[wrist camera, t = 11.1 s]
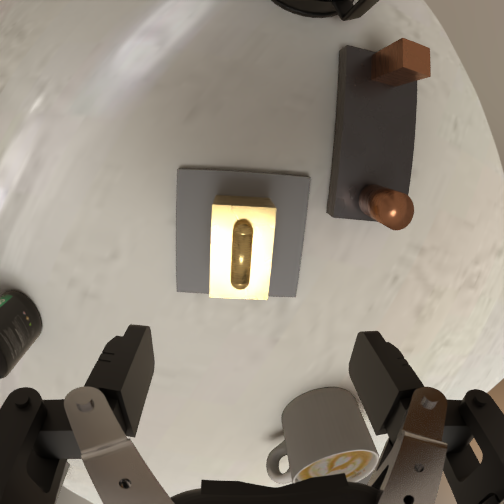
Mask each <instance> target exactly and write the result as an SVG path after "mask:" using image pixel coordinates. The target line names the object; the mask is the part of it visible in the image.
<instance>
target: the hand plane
mask: <svg viewBox="0 0 504 504" xmlns="http://www.w3.org/2000/svg"><path fill="white" fill-rule="evenodd" d="M427 77H431V76H430V48H428V47H425V46H423V45H420V44H418V43H415V42H413V41H410V40H407V39H404V38H401V39H399V40H398V41H396V42H394V43H392V44H391V45H389V46H387V47H385V48H384V49H382V50H380V51H378V52H377V53H376V52H372V51H368V50H365V49H361V48H357V47H353V46H349V45H346V46H345V47H344V48H343V49H342V50H340V51H339V74H338V94H337V110H336V123H335V136H334V147H333V158H332V168H331V178H330V187H329V195H328V204H327V212H326V213H328V214H329V215H331V216H332V217H334V218H345V219H356V220H366V221H376V222H380V223H382V224H383V225H385V226H387V227H388V228H390V229H392V230H401V229H403V228H405V227H406V226H407V225H408V224H409V223H410V222H411V220H412V218H413V214H414V205H413V202H412V200H411V198H410V197H409V196H408V193H409V185H410V178H411V170H412V161H413V151H414V139H415V125H416V106H417V80H420V79H424V78H427Z"/></svg>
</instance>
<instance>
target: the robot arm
mask: <svg viewBox="0 0 504 504" xmlns="http://www.w3.org/2000/svg"><path fill="white" fill-rule="evenodd" d="M153 373H154V353H153V345H152V337H151V330H150V327H149V326H142V325H132V324H130V325H129V326H128V328H127V330H126V332H125V334H124V336H123V337H122V336H116V337H114V338H113V339H112V340H110V341H109V342H108V343H107V344H106V346H105V348H104V350H103V351H102V354H101V355H100V357H99V359H98V361H97V363H96V364H95V366H94V368H93V370H92V372H91V374H90V376H89V378H88V380H87V381H86V383H85V385H84V387H79V388H76V389H74V390H72V391H71V392H69V393H68V394H67V396H66V397H65V399H62V400H42V398H41V396H40V394H39V393H38V392H37V391H36V390H34V389H32V388H28V387H24V388H19V389H16V390H14V391H13V392H11V393H10V394H9V396H8V397H7V399H6V400H5V402H4V404H3V405H2V407H1V409H0V504H55V500H56V496H57V493H58V489H59V485H60V482H61V479H62V475H63V472H64V468H65V465H66V462H67V459H82V460H83V463H84V465H85V467H86V469H87V472H88V474H89V476H90V478H91V480H92V482H93V484H94V486H95V488H96V490H97V492H98V494H99V496H100V498H101V500H102V502H103V504H434V503H435V499H436V496H437V492H438V488H439V484H440V480H441V476H442V472H443V471H444V474H445V476H446V478H447V480H448V483H449V485H450V487H451V490H452V492H453V494H454V497H455V499H456V502H457V504H504V414H503V413H502V411H501V410H500V409H499V407H498V406H497V404H496V403H495V402H494V400H493V399H492V398H491V396H490V395H489V394H487V393H486V392H484V391H482V390H477V389H474V390H470V391H468V392H467V393H466V395H465V397H464V398H463V400H447V399H446V397H445V396H444V395H443V393H441V392H440V391H439V390H437V389H435V388H431V387H424V385H423V384H422V382H421V381H420V379H419V378H418V376H417V375H416V373H415V372H414V371H413V369H412V368H411V366H410V365H409V363H408V362H407V361H406V359H404V356H403V355H402V353H401V352H400V351H399V349H398V348H396V347H395V346H394V345H392V344H391V343H389V342H386V341H385V340H384V338H383V337H382V335H381V334H380V333H379V332H378V331H365V332H359V333H358V335H357V338H356V342H355V345H354V349H353V352H352V355H351V359H350V362H349V374H350V378H351V380H352V382H353V384H354V386H355V389H356V391H357V393H358V395H359V397H360V400H361V402H362V404H363V406H364V409H365V411H366V413H367V415H368V418H369V420H370V422H371V425H372V427H373V429H374V432H375V434H376V435H381V434H386V433H387V434H388V436H389V438H388V440H387V442H386V444H385V446H384V449H383V451H382V454H381V456H380V458H379V461H378V463H377V465H376V468H375V470H374V472H373V474H372V477H371V479H370V480H369V482H368V484H367V485H365V484H361V483H357V482H349V481H347V479H346V475H345V473H341V474H334V475H327V476H319V477H312V478H309V479H306V480H302V481H299V482H296V483H293V484H289V485H286V486H283V487H278V488H273V487H266V486H261V485H255V484H250V483H245V482H240V481H214V480H202V482H201V488H200V489H193V490H189V491H185V492H183V493H180V494H177V495H175V496H173V497H171V498H170V497H169V496H168V494H167V493H166V492H165V490H164V489H163V488H162V486H161V485H160V483H159V482H158V481H157V479H156V478H155V476H154V475H153V473H152V472H151V470H150V469H149V467H148V466H147V464H146V463H145V461H144V460H143V458H142V457H141V455H140V454H139V452H138V450H137V449H136V447H135V446H134V444H133V443H132V441H131V440H130V439H128V438H127V437H126V436H130V437H135V436H136V432H137V428H138V425H139V421H140V417H141V414H142V410H143V407H144V403H145V400H146V396H147V393H148V390H149V386H150V383H151V380H152V376H153ZM473 438H475V440H476V442H477V443H478V445H479V447H480V449H481V450H482V453H483V459H482V462H481V464H480V463H479V461H478V459H477V458H476V456H475V454H474V452H473V450H472V448H471V446H470V444H469V443H470V442H471V440H472V439H473Z"/></svg>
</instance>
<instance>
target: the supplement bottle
mask: <svg viewBox="0 0 504 504" xmlns="http://www.w3.org/2000/svg"><path fill="white" fill-rule="evenodd" d="M41 327H42V325H41V319H40V315H39V313H38V311H37V309H36V307H35V306H34V304H33V303H32V302H31V301H30V299H29V298H27V297H26V296H25V295H24V294H22V293H20V292H17V291H8V292H6V293H4V294H3V295H2V296H0V379H1V378H4V377H6V376H7V375H8V374H9V373H10V372H11V370H12V369H13V368H14V366H15V365H16V364H17V363H18V361H19V360H20V359H21V358H22V356H23V355H24V354H25V353H26V351H27V350H28V349H29V348H30V347H31V345H32V344H33V343H34V342H35V340H36V339H37V338H38V337H39V335H40V333H41Z"/></svg>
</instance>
